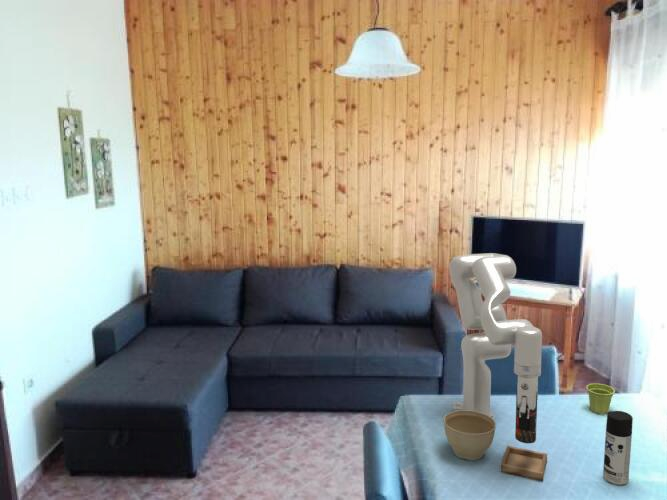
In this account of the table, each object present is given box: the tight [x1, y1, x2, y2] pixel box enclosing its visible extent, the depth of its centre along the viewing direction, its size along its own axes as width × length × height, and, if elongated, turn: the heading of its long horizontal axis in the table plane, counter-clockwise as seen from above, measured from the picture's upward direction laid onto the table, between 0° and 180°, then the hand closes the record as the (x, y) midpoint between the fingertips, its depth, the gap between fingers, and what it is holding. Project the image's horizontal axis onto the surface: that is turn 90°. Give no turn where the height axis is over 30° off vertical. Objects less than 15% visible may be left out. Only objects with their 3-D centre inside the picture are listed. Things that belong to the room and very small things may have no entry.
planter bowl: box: [443, 410, 497, 461], centre depth 174 cm, size 16×16×11 cm
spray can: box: [602, 410, 634, 486], centre depth 157 cm, size 7×7×20 cm
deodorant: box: [514, 392, 539, 444], centre depth 163 cm, size 6×6×15 cm
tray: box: [500, 445, 548, 482], centre depth 166 cm, size 12×12×2 cm
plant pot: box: [585, 383, 616, 415], centre depth 199 cm, size 9×9×9 cm
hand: (525, 424), depth 164 cm, fingers closed on deodorant, 5 cm apart
